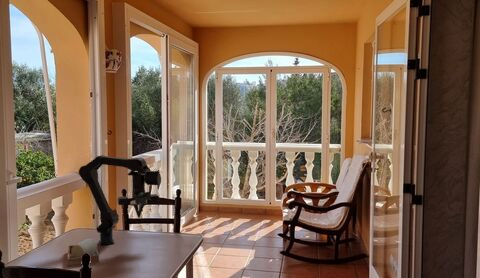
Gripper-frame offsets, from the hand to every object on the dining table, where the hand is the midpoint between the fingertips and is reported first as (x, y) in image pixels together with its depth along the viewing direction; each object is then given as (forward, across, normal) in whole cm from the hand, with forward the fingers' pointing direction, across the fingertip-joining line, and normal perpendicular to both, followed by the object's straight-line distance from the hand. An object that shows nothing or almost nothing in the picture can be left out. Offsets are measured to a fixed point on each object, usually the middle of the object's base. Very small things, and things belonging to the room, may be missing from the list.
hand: (138, 217), depth 182 cm
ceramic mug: (+13, -23, -10) cm, 29 cm away
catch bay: (+13, -25, -8) cm, 29 cm away
